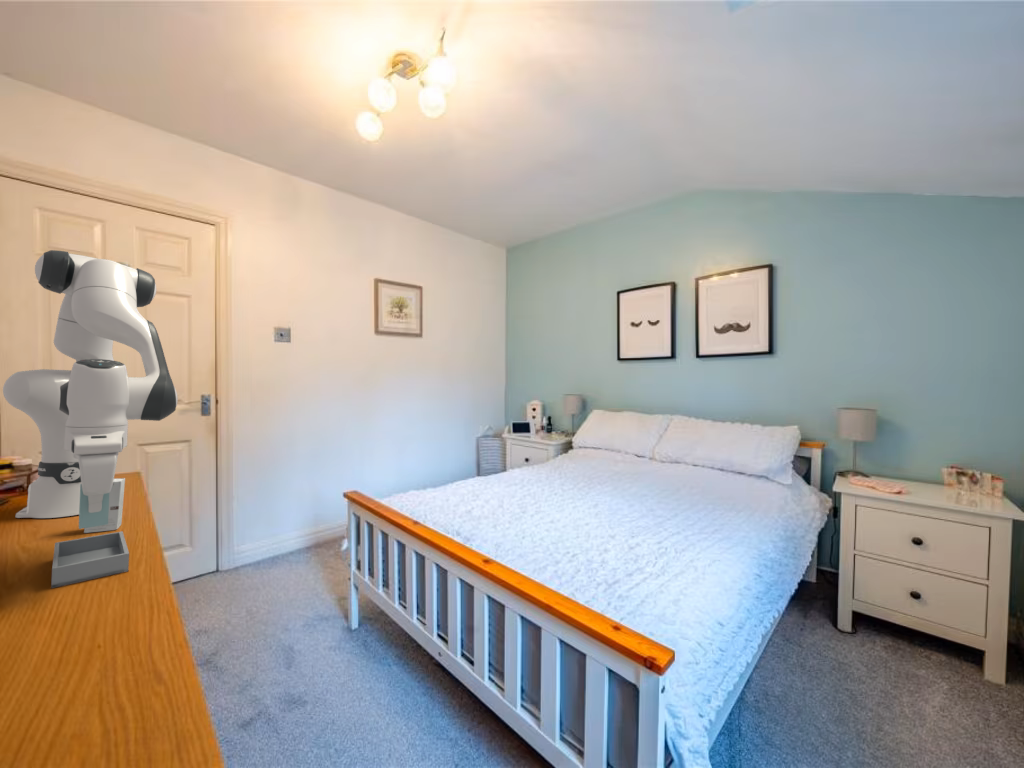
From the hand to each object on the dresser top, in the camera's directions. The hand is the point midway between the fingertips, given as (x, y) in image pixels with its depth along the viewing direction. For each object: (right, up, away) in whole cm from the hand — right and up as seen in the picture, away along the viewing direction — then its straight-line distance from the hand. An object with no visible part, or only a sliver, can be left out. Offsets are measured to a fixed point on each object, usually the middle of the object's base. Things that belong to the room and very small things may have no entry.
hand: (94, 508), depth 81 cm
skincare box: (-17, -11, +19) cm, 28 cm away
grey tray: (-1, -11, 0) cm, 11 cm away
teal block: (0, -3, 0) cm, 3 cm away
